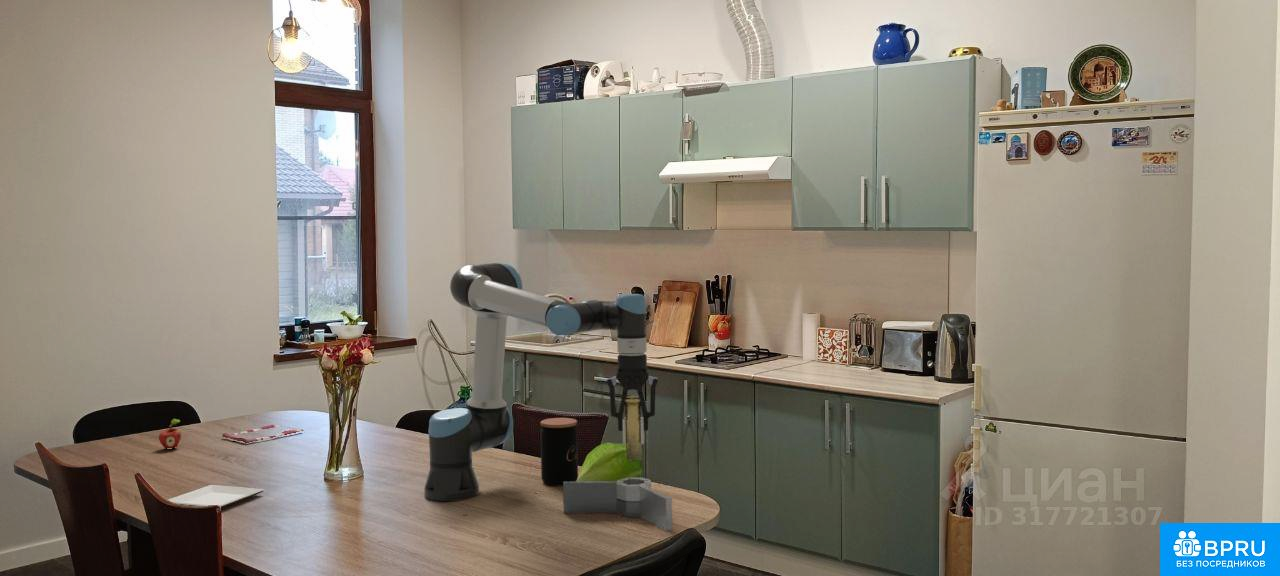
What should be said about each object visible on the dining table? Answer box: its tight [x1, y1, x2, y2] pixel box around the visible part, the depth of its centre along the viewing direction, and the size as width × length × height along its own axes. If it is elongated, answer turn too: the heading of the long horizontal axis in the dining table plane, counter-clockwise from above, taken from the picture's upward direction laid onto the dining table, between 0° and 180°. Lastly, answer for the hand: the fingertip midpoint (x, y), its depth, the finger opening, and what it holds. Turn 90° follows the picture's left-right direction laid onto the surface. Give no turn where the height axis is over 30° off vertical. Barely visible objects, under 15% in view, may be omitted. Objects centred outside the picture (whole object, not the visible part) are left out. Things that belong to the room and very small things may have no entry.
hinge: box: [562, 477, 673, 532], centre depth 253 cm, size 28×21×8 cm
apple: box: [158, 418, 182, 449], centre depth 342 cm, size 8×7×10 cm
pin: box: [624, 395, 642, 460], centre depth 258 cm, size 5×5×16 cm
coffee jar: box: [540, 417, 579, 487], centre depth 290 cm, size 11×11×18 cm
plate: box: [167, 484, 265, 509], centre depth 275 cm, size 19×19×2 cm
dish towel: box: [221, 424, 305, 443], centre depth 361 cm, size 17×23×3 cm
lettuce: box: [576, 442, 644, 481], centre depth 277 cm, size 15×22×15 cm
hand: (633, 442), depth 258 cm, fingers closed on pin, 4 cm apart
